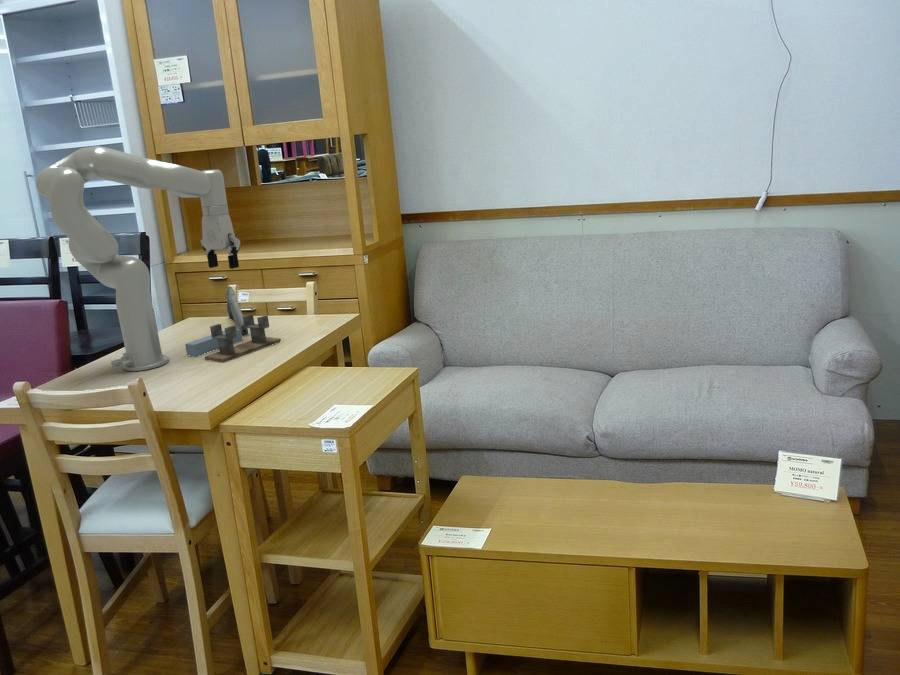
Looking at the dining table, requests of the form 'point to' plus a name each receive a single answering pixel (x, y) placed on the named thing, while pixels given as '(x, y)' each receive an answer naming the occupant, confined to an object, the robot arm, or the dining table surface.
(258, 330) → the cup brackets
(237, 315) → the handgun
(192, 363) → the dining table surface
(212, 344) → the rail
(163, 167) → the robot arm
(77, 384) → the dining table surface
